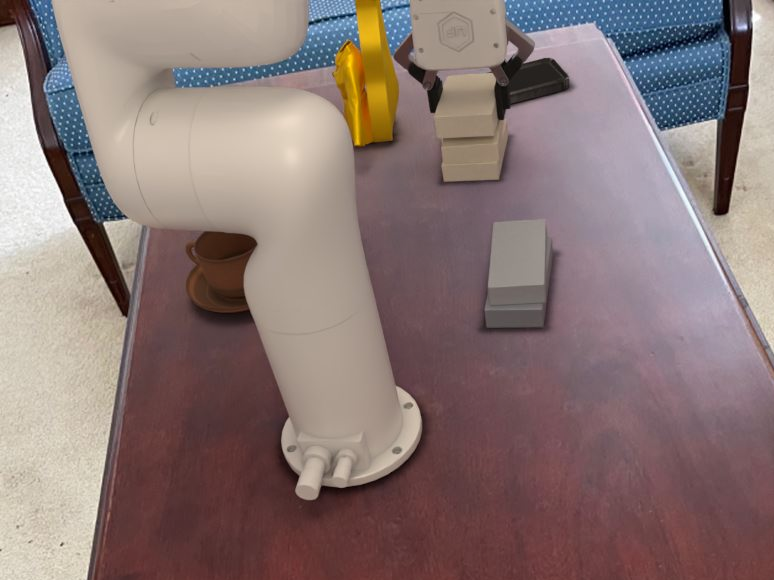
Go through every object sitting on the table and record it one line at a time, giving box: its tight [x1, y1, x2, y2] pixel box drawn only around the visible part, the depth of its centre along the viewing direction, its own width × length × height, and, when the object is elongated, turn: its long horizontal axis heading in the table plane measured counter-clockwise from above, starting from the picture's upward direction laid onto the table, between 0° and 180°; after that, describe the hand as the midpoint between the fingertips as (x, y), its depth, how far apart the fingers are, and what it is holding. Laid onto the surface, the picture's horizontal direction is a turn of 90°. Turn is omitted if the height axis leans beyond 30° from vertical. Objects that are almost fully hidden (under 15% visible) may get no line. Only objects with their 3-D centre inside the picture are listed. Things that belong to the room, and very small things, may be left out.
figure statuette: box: [331, 0, 400, 148], centre depth 113 cm, size 18×8×22 cm, turn 5°
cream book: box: [433, 72, 498, 139], centre depth 109 cm, size 10×7×3 cm, turn 172°
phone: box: [487, 57, 570, 105], centre depth 124 cm, size 8×1×15 cm
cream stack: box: [440, 115, 509, 183], centre depth 112 cm, size 10×7×4 cm
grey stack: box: [483, 218, 554, 329], centre depth 94 cm, size 12×6×4 cm, turn 172°
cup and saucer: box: [184, 231, 258, 314], centre depth 99 cm, size 12×12×6 cm
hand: (471, 114), depth 110 cm, fingers closed on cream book, 6 cm apart
